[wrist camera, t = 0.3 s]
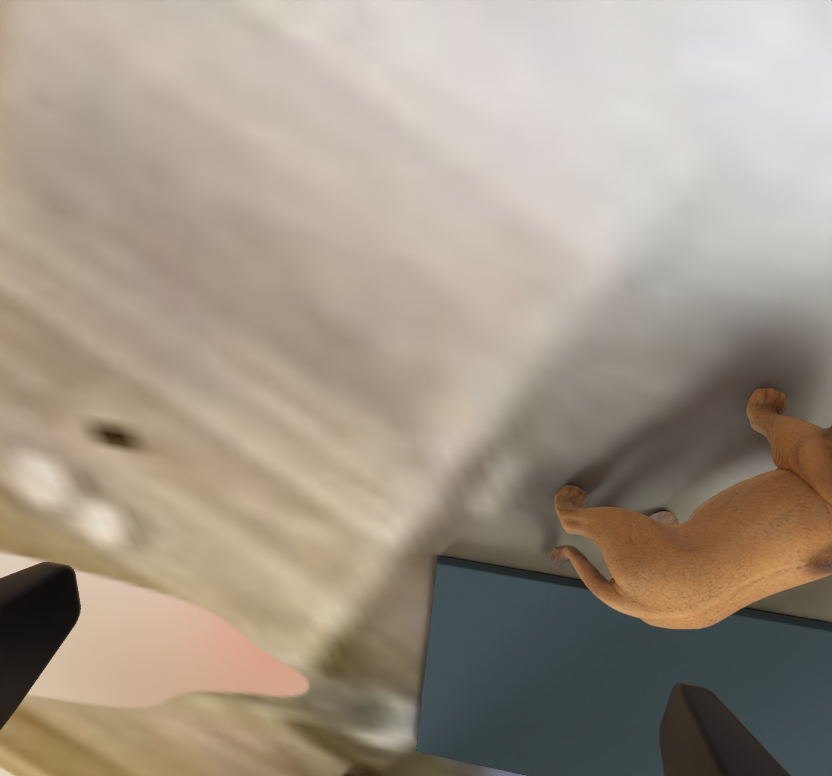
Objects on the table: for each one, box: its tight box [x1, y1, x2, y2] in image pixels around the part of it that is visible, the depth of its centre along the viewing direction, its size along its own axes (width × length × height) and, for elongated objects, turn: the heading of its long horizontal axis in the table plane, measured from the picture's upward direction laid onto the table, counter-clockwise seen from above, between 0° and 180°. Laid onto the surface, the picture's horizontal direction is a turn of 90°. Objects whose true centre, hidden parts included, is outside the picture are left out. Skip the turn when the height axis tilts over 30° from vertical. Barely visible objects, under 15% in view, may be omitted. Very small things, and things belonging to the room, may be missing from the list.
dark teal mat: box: [416, 556, 832, 776], centre depth 25 cm, size 12×20×1 cm, turn 86°
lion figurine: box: [549, 388, 832, 629], centre depth 17 cm, size 15×5×9 cm, turn 134°
